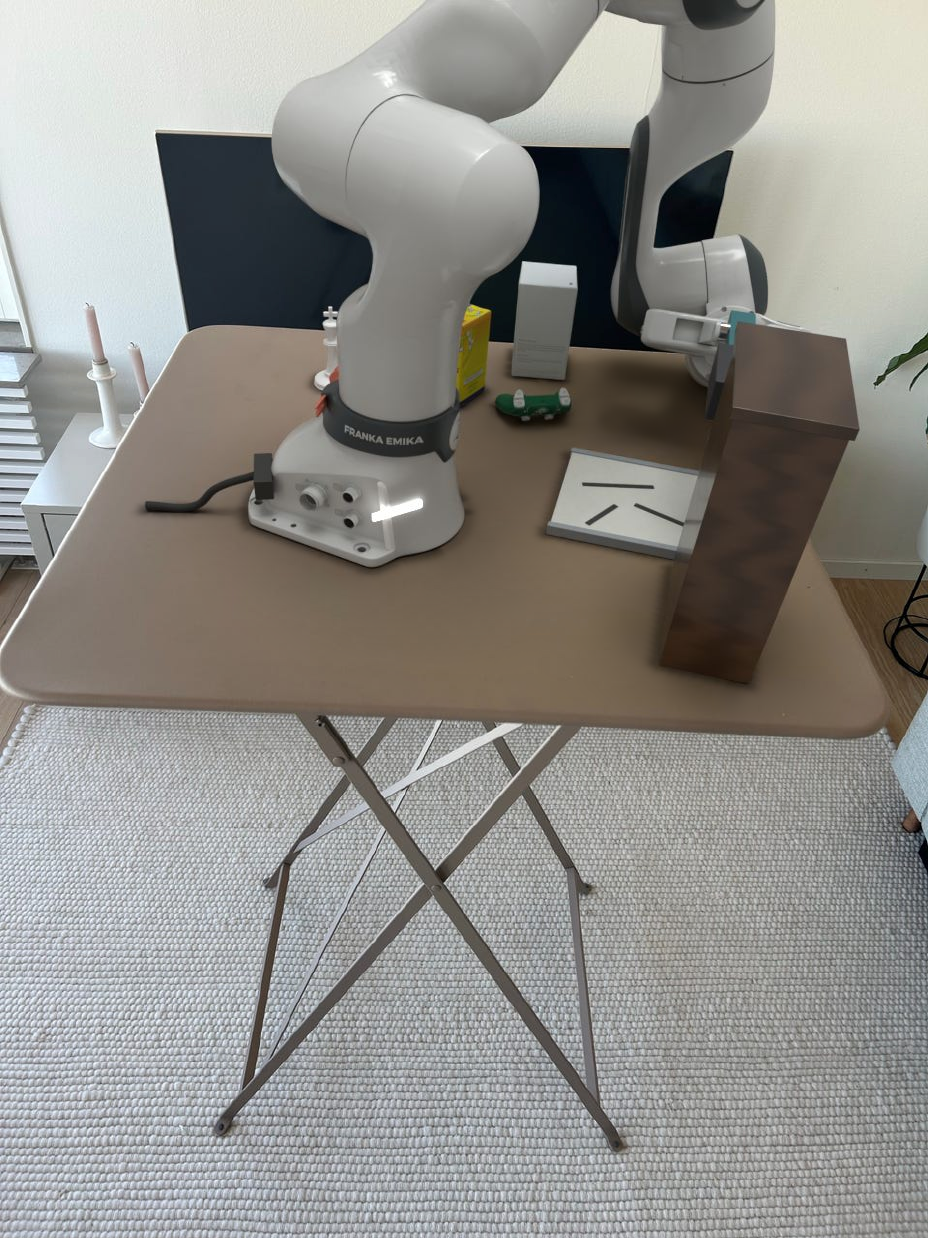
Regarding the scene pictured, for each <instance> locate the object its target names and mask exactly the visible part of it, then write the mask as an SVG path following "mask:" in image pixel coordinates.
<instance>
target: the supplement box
mask: <svg viewBox="0 0 928 1238" xmlns="http://www.w3.org/2000/svg"><path fill="white" fill-rule="evenodd" d="M491 319H492V311H491V310H490V309H487V308H483V307H480V306H477V305H474V304H472V303H469V305H468V307H467V310H466V313H465V316H464V320H463V324H462V329H461V337H460V346H459V356H458V367H457V381H456V388H457V389H458V391H459V395H460V408H461V407H463V406H464V405H465V404H467V403H468V402H470V401H471V400H473V399H474V398H476V397H477V396H479V395H480V394H482V393H483V392H484V391H485V386H486V376H487V375H486V374H487V363H488V354H489V353H488V352H489V341H490V331H491V321H492V320H491Z"/></svg>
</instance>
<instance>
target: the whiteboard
mask: <svg viewBox="0 0 928 1238" xmlns="http://www.w3.org/2000/svg"><path fill="white" fill-rule="evenodd" d="M698 473H699V470H696V469H692V468H685V467H681V466H675V465H669V464H664V463H660V462H659V463H658V462H654V461H648V460H644V459H637V458H632V457H626V456H621V455H616V454H610V453H604V452H600V451H595V450H588V449H583V448H578V447H571V448H570V453H569V457H568V464H567V467H566V470H565V473H564V478H563V481H562V484H561V486H560V491H559V493H558V497H557V500H556V503H555V506H554V510H553V513H552V517H551V520H548V522H547V526H546V531H545V534H546V535H549V536H554V537H559V538H564V539H569V540H573V541H579V542H583V543H589V544H594V545H598V546H604V547H609V548H612V549H613V548H615V549H618V550H619V549H620V550H624V551H628V552H629V551H630V552H632V553H633V552H635V553H639V554H643V555H647V556H648V555H650V556H654V557H659V558H663V559H668V560H673V561H674V557H675V554H676V550H677V547H678V543H679V540H680V536H681V533H682V529H683V526H684V522H685V519H686V515H687V512H688V508H689V505H690V501H691V498H692V494H693V491H694V487H695V484H696V480H697V477H698Z"/></svg>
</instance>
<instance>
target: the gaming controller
mask: <svg viewBox="0 0 928 1238" xmlns="http://www.w3.org/2000/svg"><path fill="white" fill-rule="evenodd" d="M494 404H495V406H496V407H497V408H498V410H499V411H501V413H504V414H506V415H510V416H513V417H519V418H520V419H521V421H523V422H526V421H530V420H531V417H532V415H539V414H541V416H542V417H544V419H545V420H546V421H547V420H553V418H554V416H555V414H564V413H569V412H570V411H571V408H572V407H573V401H572V398H571V395H570V394H569V392H568V390H567V388H566V387H561V388H560V389H559V390H558V391H556V392H555V394H538V395H536V394H535V395H526V394H524V391H523V390H522V389H517V390H516V391H515V393H514V394H511V393H500V394H498V395H497V396H496V397H495V400H494Z"/></svg>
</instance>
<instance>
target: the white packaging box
mask: <svg viewBox="0 0 928 1238" xmlns="http://www.w3.org/2000/svg"><path fill="white" fill-rule="evenodd" d="M578 289H579V288H578V271H577V265H571V264H570V265H569V264H556V263H546V262H535V261H534V262H533V261H523V260H522V262H521V267H520V273H519V280H518V289H517V290H518V293H517V304H516V313H515V326H514V335H513V348H512V357H511V358H512V360H511V376H512V377H522V378H534V379H545V380H556V381H565V379H566V373H567V366H568V360H569V352H570V345H571V339H572V331H573V324H574V318H575V312H576V311H575V310H576V304H577V297H578V291H579V290H578Z"/></svg>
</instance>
